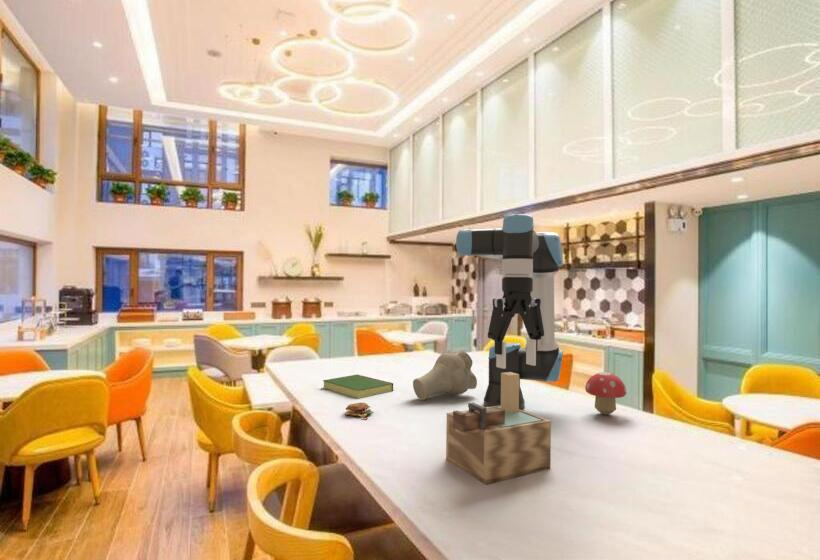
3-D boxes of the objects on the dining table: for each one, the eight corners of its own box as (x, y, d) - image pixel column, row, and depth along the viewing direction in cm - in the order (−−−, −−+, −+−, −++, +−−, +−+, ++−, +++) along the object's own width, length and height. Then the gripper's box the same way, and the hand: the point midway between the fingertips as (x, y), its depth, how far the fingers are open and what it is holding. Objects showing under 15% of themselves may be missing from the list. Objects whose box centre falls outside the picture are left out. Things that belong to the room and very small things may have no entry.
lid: (505, 411, 129) (505, 370, 129) (541, 425, 116) (542, 380, 116) (466, 417, 123) (467, 374, 123) (501, 433, 110) (501, 385, 110)
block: (497, 419, 116) (497, 404, 116) (506, 423, 113) (506, 408, 113) (452, 427, 109) (453, 411, 109) (461, 431, 106) (461, 414, 106)
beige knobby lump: (422, 374, 167) (479, 349, 182) (389, 356, 184) (444, 335, 199) (427, 426, 173) (482, 398, 188) (395, 404, 190) (447, 380, 205)
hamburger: (332, 419, 156) (333, 401, 156) (353, 409, 169) (353, 392, 169) (369, 425, 151) (370, 406, 151) (388, 413, 164) (388, 396, 164)
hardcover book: (393, 392, 196) (393, 383, 196) (358, 399, 182) (358, 390, 182) (356, 382, 213) (356, 374, 213) (321, 388, 200) (321, 380, 200)
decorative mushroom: (578, 414, 164) (579, 372, 164) (593, 407, 174) (594, 367, 174) (618, 422, 155) (618, 377, 155) (631, 414, 165) (631, 372, 165)
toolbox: (505, 446, 131) (506, 386, 131) (550, 468, 116) (551, 400, 116) (431, 461, 119) (432, 395, 119) (470, 488, 104) (471, 412, 104)
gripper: (539, 277, 125) (537, 360, 125) (473, 275, 115) (471, 366, 115) (560, 277, 118) (559, 365, 118) (492, 275, 108) (491, 372, 108)
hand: (516, 366), depth 116 cm, fingers open, 9 cm apart
